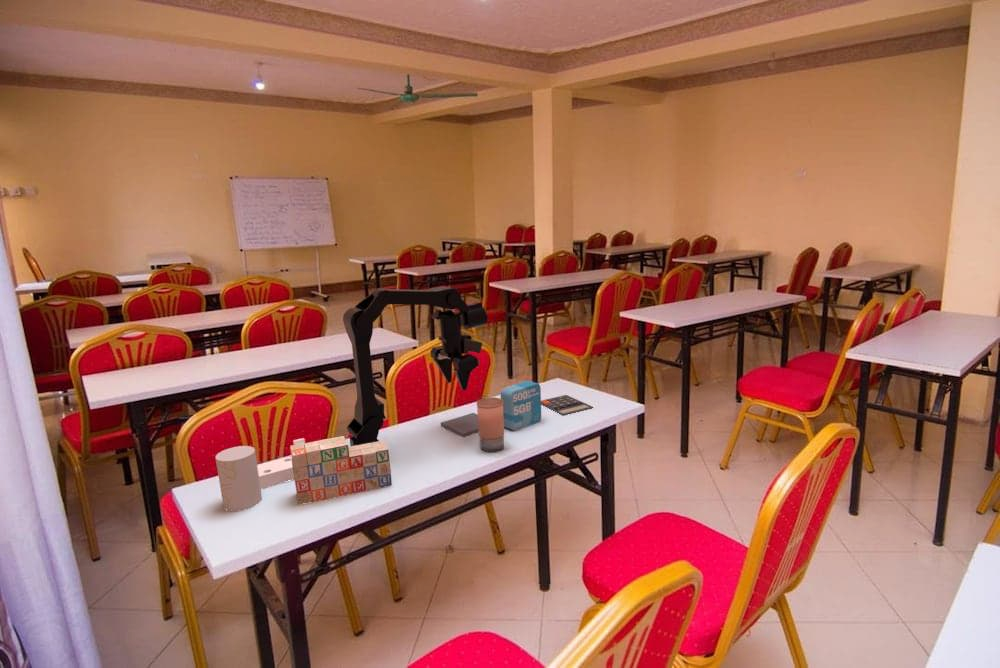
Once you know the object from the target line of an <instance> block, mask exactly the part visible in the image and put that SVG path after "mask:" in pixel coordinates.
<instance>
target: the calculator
mask: <svg viewBox="0 0 1000 668" xmlns="http://www.w3.org/2000/svg"><path fill="white" fill-rule="evenodd" d="M542 405H543V407H544V406H545V408H546V407H547V408H546V409H548V408H549V410H550V409H551V411H552V410H553V411H552V412H554V411H555V413H556V412H557V413H556V414H558V413H559V414H558V415H560V416H563V417H564V416H568V414H569V415H572V413H573V414H577V413H580V411H581V412H584V410H585V411H588V409H589V410H593V409H594V406H593V405H590V404H587V403H586V402H583V401H582V400H579V399H578V398H575V397H572V396H570V395H567V394H564V395H560V396H556V397H551V398H546V399H541V406H542ZM592 408H593V409H592ZM576 412H577V413H576Z"/></svg>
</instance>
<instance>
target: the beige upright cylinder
mask: <svg viewBox="0 0 1000 668" xmlns="http://www.w3.org/2000/svg"><path fill="white" fill-rule="evenodd" d="M215 463H216V468H217V469H216V470H217V474H218V479H219V481H218V482H219V487H220V494H221V498H222V506H223V509H224V508H225V509H227V510H232V511H231V512H239V511H238V510H242V511H245V510H244V509H246V510H248V508H249V509H251V507H252V508H254V507H256V506H257V505H259V504H260V503H261V502H262V500H263V496H262V489H261V488H260V481H259V474H258V467H257V465H258V462H257V453H256V449H255V447H253V446H250V445H249V446H248V445H239V446H234V447H230V448H226V449H224V450H221V451H220V452H218V453H217V454H215ZM260 501H261V502H260ZM259 502H260V503H259ZM258 503H259V504H258ZM256 504H257V505H256ZM255 505H256V506H255ZM253 506H254V507H253ZM225 509H224V510H225ZM227 510H226V511H227Z"/></svg>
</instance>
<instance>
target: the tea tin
mask: <svg viewBox="0 0 1000 668" xmlns="http://www.w3.org/2000/svg"><path fill="white" fill-rule="evenodd" d="M504 437H505V434H504V435H503V436H502V437H499V438H495V439H485V438H482V437H480V436H479V445H480V446H479V447H480V450H481V452H483V453H486V454H487V453H488V454H495V453H499V452H501V451H502V452H503V450H504V449H505V438H504Z"/></svg>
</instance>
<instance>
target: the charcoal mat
mask: <svg viewBox="0 0 1000 668" xmlns="http://www.w3.org/2000/svg"><path fill="white" fill-rule="evenodd" d="M440 427H442V428H444V429H446V430H448V431H450V432H451V433H454V434H456V435H458V436H460V437H462V438H465V437H467V436H470V435H475V434H479V429H478V413H474V412H470V413H468V414H464V415H461V416H458V417H455V418H451V419H449V420H444V421H440Z"/></svg>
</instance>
